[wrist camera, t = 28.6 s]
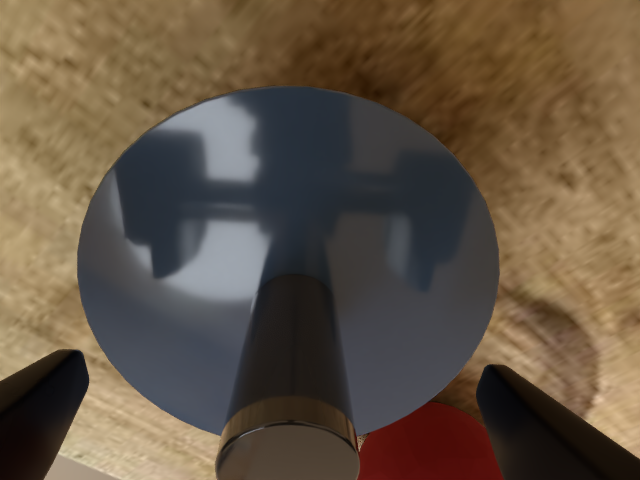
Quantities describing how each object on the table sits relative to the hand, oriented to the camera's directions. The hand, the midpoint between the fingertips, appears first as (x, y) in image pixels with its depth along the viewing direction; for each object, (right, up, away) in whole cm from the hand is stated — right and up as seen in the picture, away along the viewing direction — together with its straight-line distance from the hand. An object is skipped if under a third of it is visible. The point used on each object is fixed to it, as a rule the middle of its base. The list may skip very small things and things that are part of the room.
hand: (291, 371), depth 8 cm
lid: (0, +1, +2) cm, 3 cm away
